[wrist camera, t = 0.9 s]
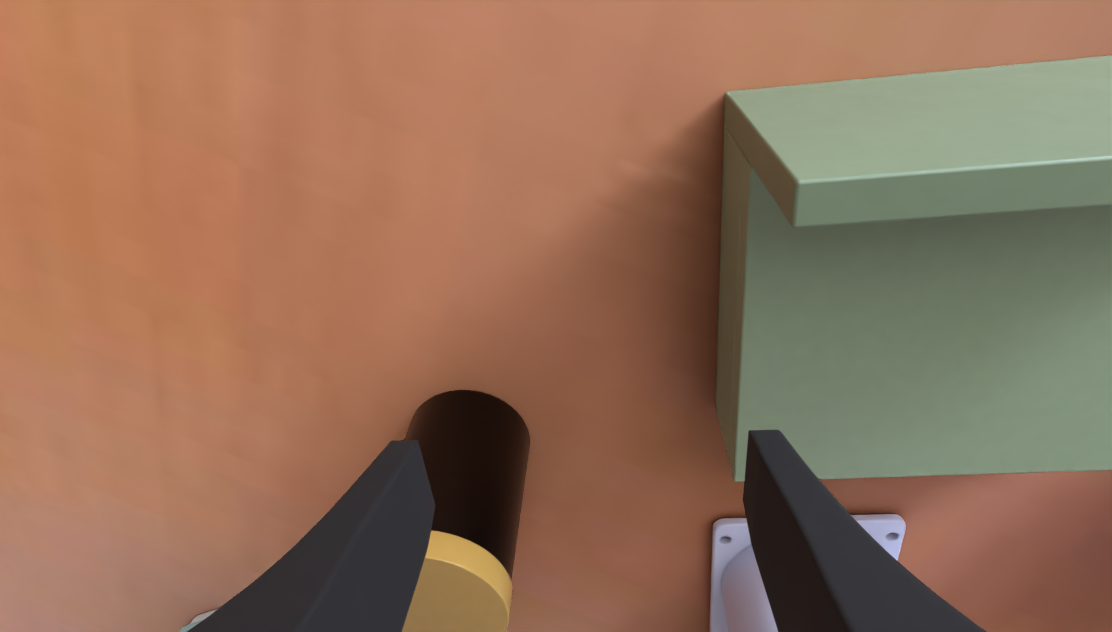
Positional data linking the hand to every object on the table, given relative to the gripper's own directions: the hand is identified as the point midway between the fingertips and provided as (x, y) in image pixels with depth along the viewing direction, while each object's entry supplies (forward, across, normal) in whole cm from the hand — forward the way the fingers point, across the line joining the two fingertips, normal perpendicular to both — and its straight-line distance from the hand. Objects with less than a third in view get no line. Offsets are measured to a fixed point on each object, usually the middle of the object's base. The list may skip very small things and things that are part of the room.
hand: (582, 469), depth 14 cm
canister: (+10, +5, +7) cm, 13 cm away
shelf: (+10, -12, 0) cm, 15 cm away
